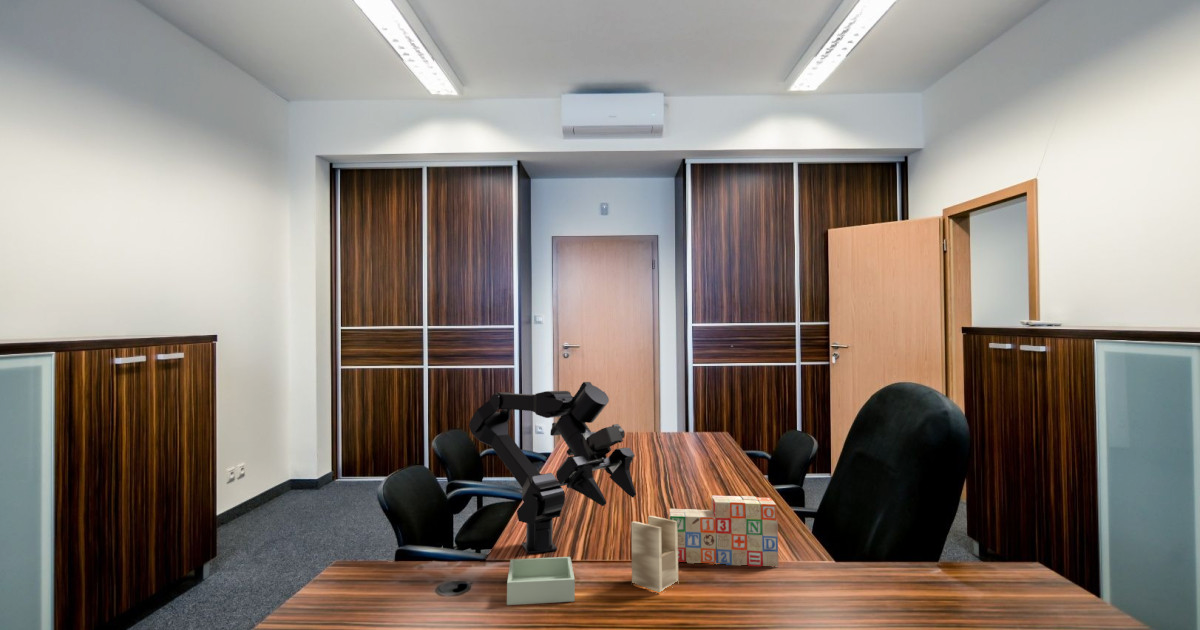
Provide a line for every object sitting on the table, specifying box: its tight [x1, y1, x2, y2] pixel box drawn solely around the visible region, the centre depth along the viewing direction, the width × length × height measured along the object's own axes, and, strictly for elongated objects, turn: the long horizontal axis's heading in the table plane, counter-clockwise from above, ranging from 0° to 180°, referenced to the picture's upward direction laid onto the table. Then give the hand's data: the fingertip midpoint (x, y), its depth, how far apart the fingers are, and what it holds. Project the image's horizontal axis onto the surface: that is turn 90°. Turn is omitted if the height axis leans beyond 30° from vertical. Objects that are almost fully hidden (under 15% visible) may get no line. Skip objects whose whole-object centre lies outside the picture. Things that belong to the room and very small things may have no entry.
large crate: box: [506, 556, 576, 606], centre depth 92 cm, size 11×11×4 cm
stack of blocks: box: [669, 495, 780, 567], centre depth 107 cm, size 21×6×12 cm, turn 83°
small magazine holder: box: [631, 515, 679, 592], centre depth 94 cm, size 6×6×11 cm
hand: (620, 500), depth 100 cm, fingers open, 9 cm apart
